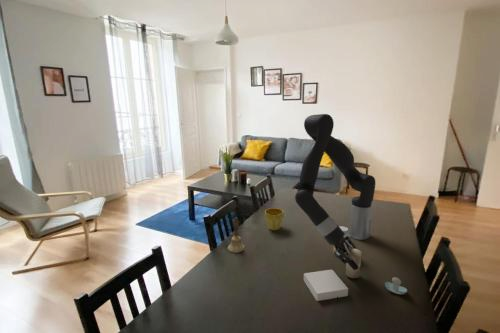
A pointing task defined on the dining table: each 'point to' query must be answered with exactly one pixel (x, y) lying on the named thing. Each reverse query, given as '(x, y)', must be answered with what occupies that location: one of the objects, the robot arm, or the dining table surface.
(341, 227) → the supplement bottle
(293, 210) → the dining table surface
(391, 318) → the dining table surface
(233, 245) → the hand bell
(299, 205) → the robot arm
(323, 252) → the dining table surface
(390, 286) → the pacifier
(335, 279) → the plinth
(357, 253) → the birch post
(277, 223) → the plant pot
